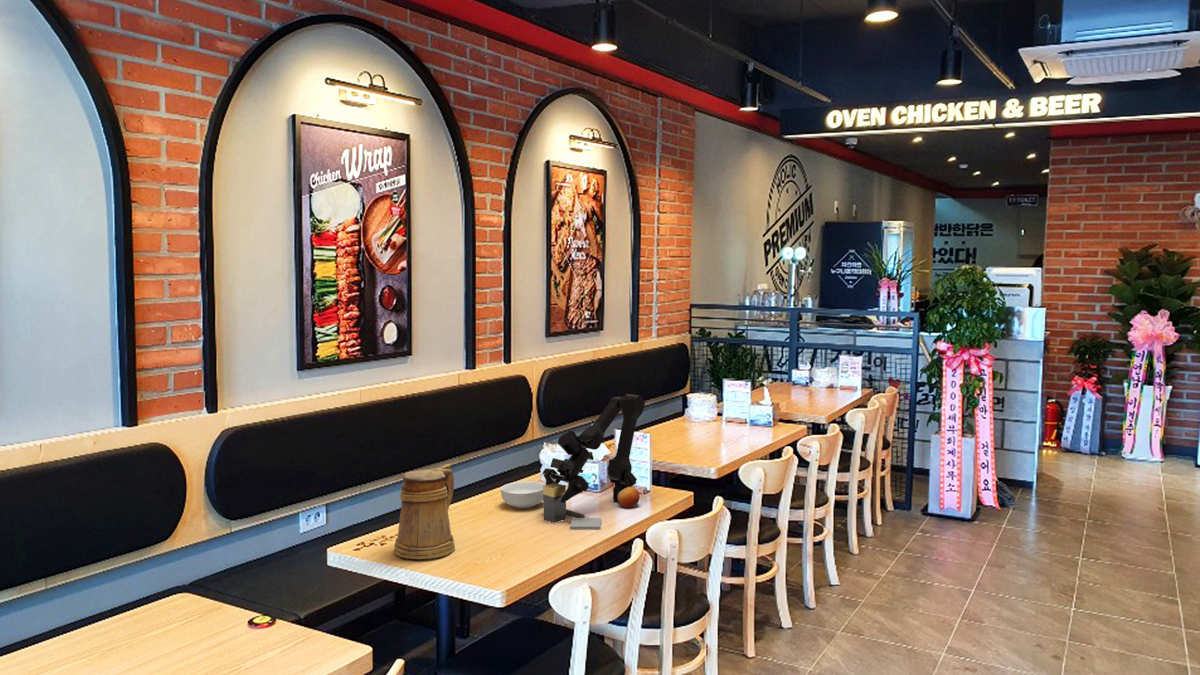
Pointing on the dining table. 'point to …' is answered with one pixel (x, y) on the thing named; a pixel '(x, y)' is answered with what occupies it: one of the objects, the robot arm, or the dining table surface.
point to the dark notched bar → (574, 514)
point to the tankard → (425, 514)
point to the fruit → (628, 497)
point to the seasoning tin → (554, 502)
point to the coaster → (585, 523)
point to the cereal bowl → (523, 493)
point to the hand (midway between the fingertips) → (552, 499)
